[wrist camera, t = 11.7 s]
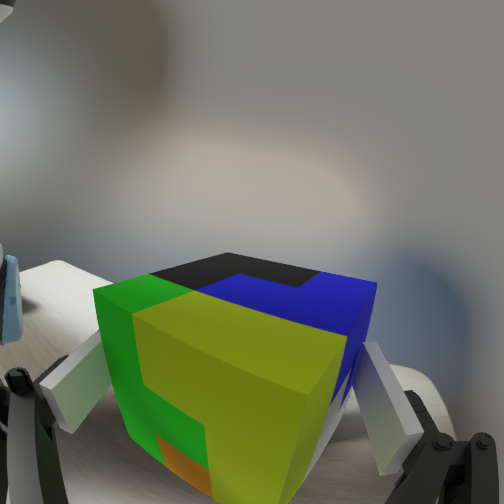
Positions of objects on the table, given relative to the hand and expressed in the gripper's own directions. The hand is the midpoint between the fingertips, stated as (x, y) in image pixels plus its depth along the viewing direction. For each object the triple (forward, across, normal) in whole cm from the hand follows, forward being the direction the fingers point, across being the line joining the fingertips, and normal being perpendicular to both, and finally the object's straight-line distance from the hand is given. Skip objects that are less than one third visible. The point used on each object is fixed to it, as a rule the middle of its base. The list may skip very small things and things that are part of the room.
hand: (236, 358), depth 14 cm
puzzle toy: (0, 0, -6) cm, 6 cm away
